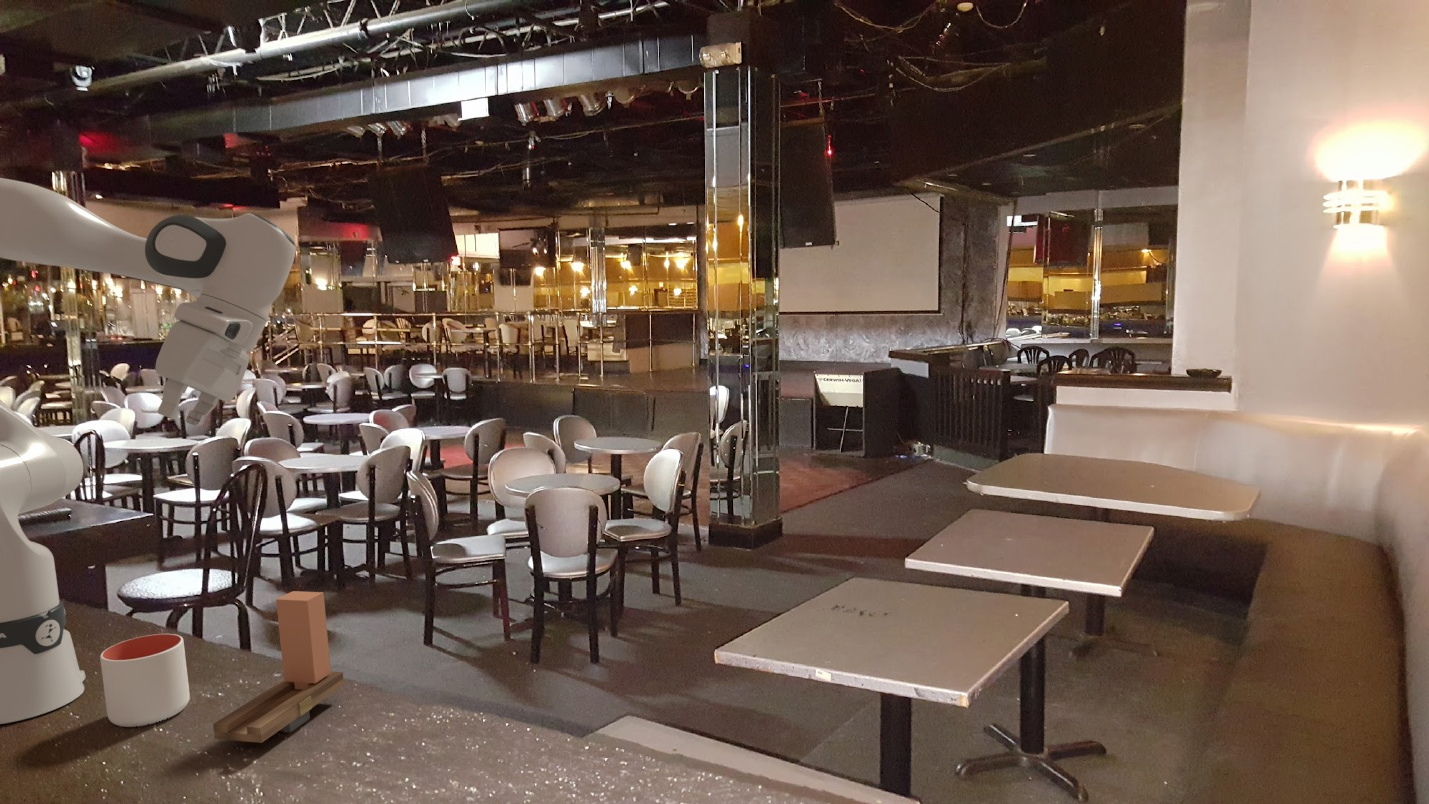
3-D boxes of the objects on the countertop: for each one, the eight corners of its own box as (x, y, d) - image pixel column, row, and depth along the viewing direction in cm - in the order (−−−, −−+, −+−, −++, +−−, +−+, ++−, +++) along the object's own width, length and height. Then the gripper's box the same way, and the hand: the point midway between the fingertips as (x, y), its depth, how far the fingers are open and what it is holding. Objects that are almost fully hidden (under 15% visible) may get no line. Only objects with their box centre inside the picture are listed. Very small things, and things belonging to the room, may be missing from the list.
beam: (215, 753, 117) (212, 723, 117) (302, 695, 134) (299, 669, 133) (264, 757, 115) (261, 728, 115) (346, 698, 132) (343, 672, 131)
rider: (285, 689, 128) (276, 599, 127) (301, 678, 132) (292, 591, 130) (316, 691, 127) (307, 600, 126) (331, 680, 131) (323, 592, 129)
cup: (152, 733, 123) (143, 662, 122) (90, 728, 125) (81, 659, 124) (206, 700, 133) (199, 634, 132) (148, 696, 135) (141, 632, 134)
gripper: (227, 335, 135) (185, 421, 132) (173, 301, 115) (122, 401, 112) (269, 350, 136) (228, 436, 133) (222, 319, 116) (173, 419, 113)
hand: (179, 420), depth 122 cm, fingers open, 8 cm apart
